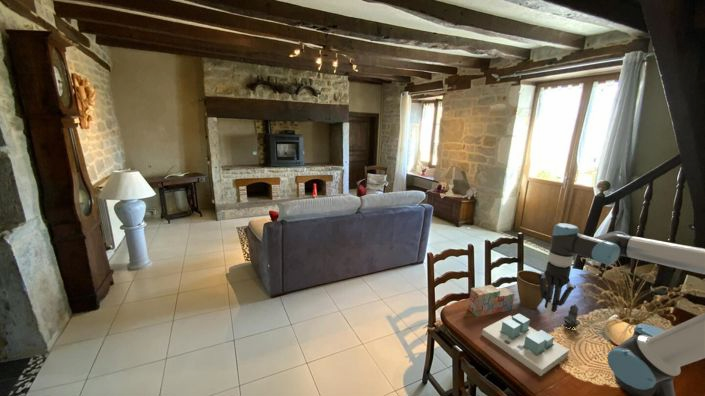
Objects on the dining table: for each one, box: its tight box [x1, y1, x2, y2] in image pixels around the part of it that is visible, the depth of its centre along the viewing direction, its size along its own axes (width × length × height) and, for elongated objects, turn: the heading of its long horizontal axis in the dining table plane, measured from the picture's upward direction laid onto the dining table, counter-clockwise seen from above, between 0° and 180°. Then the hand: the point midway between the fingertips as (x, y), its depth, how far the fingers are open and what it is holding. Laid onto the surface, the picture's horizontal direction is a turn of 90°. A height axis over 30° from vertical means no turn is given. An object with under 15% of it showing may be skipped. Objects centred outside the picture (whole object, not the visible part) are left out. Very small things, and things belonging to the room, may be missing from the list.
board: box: [481, 315, 570, 377], centre depth 122 cm, size 25×20×3 cm
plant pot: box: [516, 270, 548, 310], centre depth 148 cm, size 15×15×16 cm
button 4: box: [536, 329, 555, 350], centre depth 119 cm, size 5×5×5 cm
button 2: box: [512, 313, 531, 333], centre depth 127 cm, size 5×5×5 cm
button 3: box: [524, 332, 546, 355], centre depth 116 cm, size 5×5×5 cm
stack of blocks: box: [468, 284, 515, 317], centre depth 144 cm, size 21×6×12 cm, turn 106°
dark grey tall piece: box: [562, 304, 580, 329], centre depth 132 cm, size 6×6×12 cm
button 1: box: [501, 318, 521, 338], centre depth 124 cm, size 5×5×5 cm
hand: (549, 316), depth 116 cm, fingers closed
